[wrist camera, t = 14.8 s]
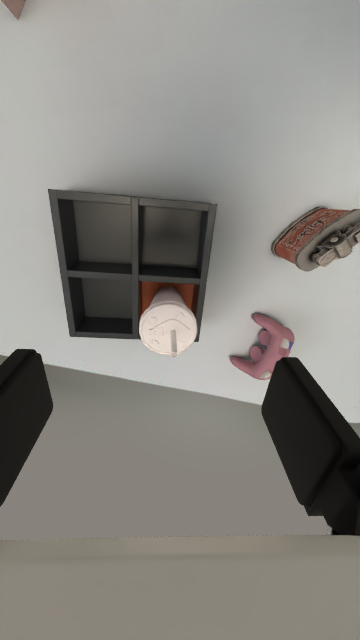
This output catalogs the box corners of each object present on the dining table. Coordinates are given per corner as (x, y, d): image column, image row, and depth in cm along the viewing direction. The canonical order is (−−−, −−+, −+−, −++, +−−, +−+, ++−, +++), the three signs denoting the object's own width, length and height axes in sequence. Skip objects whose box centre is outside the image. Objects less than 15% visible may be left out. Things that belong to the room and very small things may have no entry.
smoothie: (190, 316, 36) (202, 379, 24) (147, 319, 36) (137, 383, 23) (189, 275, 33) (203, 322, 21) (143, 277, 33) (128, 326, 21)
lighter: (278, 262, 34) (318, 285, 25) (266, 243, 33) (303, 261, 24) (331, 221, 32) (396, 231, 23) (320, 199, 30) (384, 201, 21)
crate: (209, 202, 30) (217, 203, 25) (194, 324, 38) (198, 342, 33) (66, 190, 29) (47, 189, 24) (81, 319, 36) (69, 336, 32)
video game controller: (244, 359, 43) (273, 387, 38) (226, 361, 41) (254, 391, 36) (270, 311, 39) (306, 336, 34) (252, 310, 36) (288, 336, 31)
